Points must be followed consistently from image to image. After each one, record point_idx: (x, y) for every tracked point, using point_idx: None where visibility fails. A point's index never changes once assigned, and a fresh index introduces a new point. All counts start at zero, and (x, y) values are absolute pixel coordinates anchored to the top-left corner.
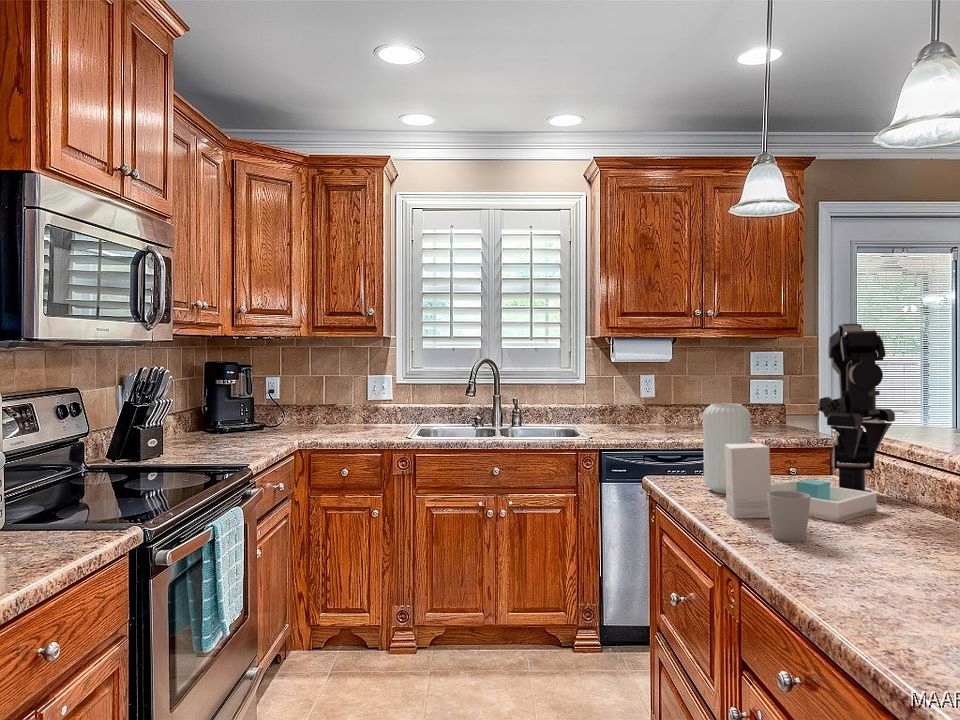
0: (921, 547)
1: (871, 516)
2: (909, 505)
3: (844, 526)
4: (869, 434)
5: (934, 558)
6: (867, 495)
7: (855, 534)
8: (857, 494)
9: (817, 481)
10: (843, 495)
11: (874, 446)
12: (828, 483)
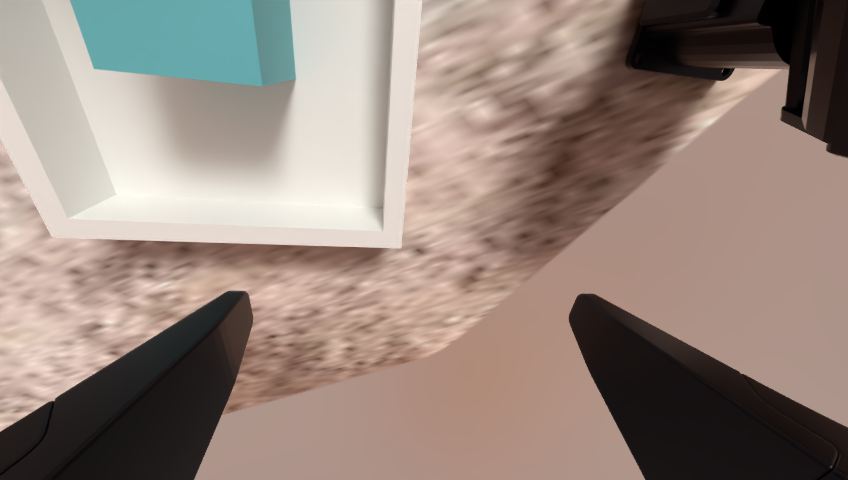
0: None
1: None
2: (549, 246)
3: None
4: (737, 446)
5: None
6: (326, 245)
7: (40, 295)
8: (385, 177)
9: (209, 1)
10: (388, 108)
11: (599, 367)
12: (247, 83)
